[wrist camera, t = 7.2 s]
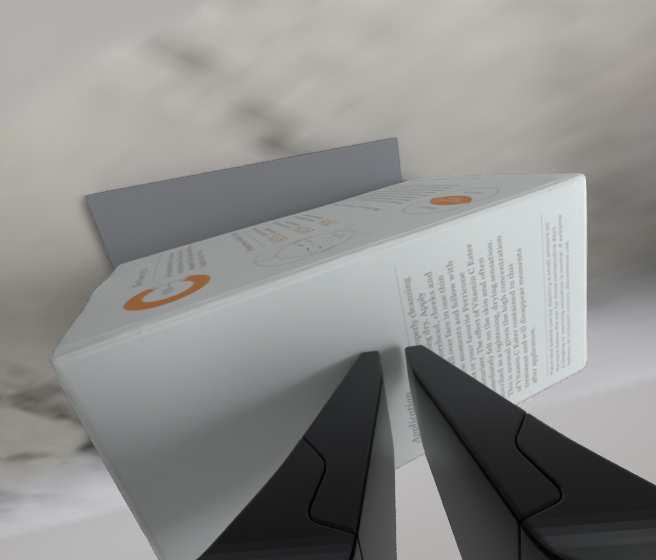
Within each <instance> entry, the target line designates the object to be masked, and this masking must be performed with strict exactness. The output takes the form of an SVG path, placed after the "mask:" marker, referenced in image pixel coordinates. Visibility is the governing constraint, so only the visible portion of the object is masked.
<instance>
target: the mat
mask: <svg viewBox="0 0 656 560" xmlns="http://www.w3.org/2000/svg"><path fill="white" fill-rule="evenodd" d="M401 182H402V180H401V170H400V161H399V152H398V142H397V138H391V139H386V140H380V141H375V142H370V143H364V144H359V145H353V146H348V147H343V148H337V149H332V150H327V151H321V152H316V153H310V154H305V155H300V156H294V157H289V158H284V159H278V160H273V161H267V162H262V163H257V164H251V165H246V166H241V167H235V168H230V169H224V170H219V171H214V172H208V173H203V174H197V175H192V176H187V177H181V178H176V179H171V180H165V181H160V182H154V183H149V184H144V185H138V186H133V187H128V188H122V189H117V190H111V191H106V192H101V193H95V194H91V195H86V196H85V198H86V200H87V203H88V205H89V208H90V210H91V213H92V215H93V218H94V221H95V223H96V226H97V228H98V231H99V233H100V236H101V238H102V241H103V244H104V246H105V249H106V251H107V254H108V256H109V259H110V261H111V264H112V266H113V269H114V271H115V269H116V268H117V267H118V265H120V264H123V263H126V262H130V261H133V260H136V259H140V258H143V257H147V256H150V255H154V254H157V253H160V252H164V251H167V250H171V249H174V248H178V247H181V246H185V245H188V244H192V243H195V242H199V241H202V240H206V239H209V238H212V237H216V236H219V235H222V234H226V233H229V232H233V231H236V230H240V229H243V228H247V227H250V226H254V225H257V224H261V223H264V222H268V221H272V220H275V219H279V218H283V217H286V216H290V215H293V214H297V213H301V212H304V211H308V210H311V209H315V208H318V207H322V206H325V205H329V204H332V203H335V202H339V201H342V200H345V199H349V198H352V197H355V196H358V195H362V194H365V193H368V192H371V191H375V190H378V189H381V188H385V187H388V186H391V185H395V184H398V183H401Z"/></svg>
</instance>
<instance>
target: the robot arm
mask: <svg viewBox="0 0 656 560" xmlns="http://www.w3.org/2000/svg"><path fill="white" fill-rule="evenodd" d="M405 358H406V365H407V373H408V380H409V386H410V391H411V395H412V400H413V405H414V410H415V414H416V419H417V424H418V428H419V433H420V437H421V441H422V445H423V448H424V451H425V455H426V457H427V460H428V463H429V466H430V469H431V472H432V475H433V477H434V480H435V483H436V486H437V489H438V492H439V494H440V497H441V500H442V503H443V506H444V509H445V511H446V514H447V517H448V520H449V523H450V526H451V529H452V532H453V534H454V537H455V540H456V543H457V546H458V548H459V551H460V554H461V557H462V559H463V560H656V485H654V484H652V483H650V482H648V481H646V480H645V479H643V478H641V477H639V476H637V475H635V474H633V473H631V472H630V471H628V470H626V469H624V468H622V467H620V466H618V465H617V464H615V463H613V462H611V461H609V460H607V459H605V458H603V457H602V456H600V455H598V454H596V453H594V452H593V451H591V450H589V449H587V448H585V447H584V446H582V445H580V444H578V443H576V442H575V441H573V440H571V439H569V438H568V437H566V436H564V435H563V434H561V433H559V432H558V431H556V430H555V429H553V428H551V427H550V426H548V425H546V424H545V423H543V422H542V421H540V420H538V419H537V418H535V417H534V416H532V415H531V414H527V413H526V411H524V410H523V409H521V408H520V407H518V406H517V405H515V404H513V403H512V402H510V401H509V400H507V399H506V398H504V397H503V396H501V395H500V394H498V393H496V392H495V391H493V390H492V389H490V388H489V387H487V386H486V385H484V384H482V383H481V382H479V381H478V380H476V379H475V378H473V377H472V376H470V375H469V374H467V373H465V372H464V371H462V370H461V369H459V368H458V367H456V366H455V365H453V364H451V363H450V362H448V361H447V360H445V359H444V358H442V357H441V356H439V355H438V354H436V353H434V352H433V351H431V350H430V349H428V348H427V347H425V346H423V345H415V346H408V347H406V348H405ZM196 560H397V553H396V510H395V463H394V445H393V437H392V431H391V424H390V418H389V411H388V405H387V398H386V392H385V385H384V379H383V372H382V366H381V359H380V353H379V352H378V351H370V352H363V353H361V354H360V356H359V357H358V359H357V360H356V361H355V363H354V364H353V366H352V367H351V368H350V370H349V371H348V373H347V374H346V375H345V377H344V378H343V380H342V381H341V382H340V384H339V385H338V387H337V388H336V390H335V391H334V392H333V394H332V395H331V397H330V398H329V399H328V401H327V402H326V404H325V405H324V406H323V408H322V409H321V411H320V412H319V413H318V415H317V416H316V418H315V419H314V420H313V422H312V423H311V425H310V426H309V428H308V429H307V430H306V432H305V433H304V435H303V436H302V439H300V440H299V441H298V443H297V444H296V446H295V447H294V448H293V450H292V451H291V452H290V454H289V455H288V456H287V458H286V459H285V460H284V462H283V463H282V464H281V466H280V467H279V468H278V470H277V471H276V472H275V473H274V474H273V475H272V477H271V478H270V479H269V480H268V481H267V482H266V484H265V485H264V486H263V487H262V488H261V489H260V491H259V492H258V493H257V494H256V495H255V496H254V497H253V498H252V500H251V501H250V502H249V503H248V504H247V505H246V506H245V507H244V508H243V510H242V511H241V512H240V513H239V514H238V515H237V516H236V517H235V519H234V520H233V521H232V522H231V523H230V524H229V525H228V526H227V527H226V529H225V530H224V531H223V532H222V533H221V534H220V535H219V536H218V537H217V539H216V540H215V541H214V542H213V543H212V544H211V545H210V546H209V547H208V548H207V549H206V550H205V551H204V552H203V554H202V555H201V556H199V557H198V558H197V559H196Z"/></svg>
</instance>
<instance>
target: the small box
mask: <svg viewBox="0 0 656 560" xmlns="http://www.w3.org/2000/svg"><path fill="white" fill-rule="evenodd" d="M415 345H423V346H425V347H427V348H428V349H430V350H431V351H433V352H434V353H436V354H438V355H439V356H441V357H442V358H444V359H445V360H447V361H448V362H450V363H451V364H453V365H455V366H456V367H458V368H459V369H461V370H462V371H464V372H465V373H467V374H469V375H470V376H472V377H473V378H475V379H476V380H478V381H479V382H481V383H482V384H484V385H486V386H487V387H489V388H490V389H492V390H493V391H495V392H496V393H498V394H500V395H501V396H503V397H504V398H506V399H507V400H509V401H510V402H512V403H513V404H515V405H517V404H519V403H521V402H523V401H525V400H527V399H529V398H531V397H533V396H534V395H536V394H538V393H540V392H542V391H544V390H546V389H548V388H549V387H551V386H553V385H555V384H557V383H559V382H561V381H563V380H565V379H566V378H568V377H570V376H572V375H574V374H576V373H577V372H579V371H581V370H582V369H584V367H585V364H586V363H587V362H588V361H587V210H586V178H585V176H584V174H580V173H563V174H503V175H468V176H436V177H418V178H414V179H411V180H408V181H405V182H401V183H398V184H395V185H391V186H388V187H385V188H381V189H378V190H375V191H371V192H368V193H365V194H362V195H358V196H355V197H352V198H349V199H345V200H342V201H339V202H335V203H332V204H329V205H325V206H322V207H318V208H315V209H311V210H308V211H304V212H301V213H297V214H293V215H290V216H286V217H283V218H279V219H275V220H272V221H268V222H264V223H261V224H257V225H254V226H250V227H247V228H243V229H240V230H236V231H233V232H229V233H226V234H222V235H219V236H216V237H212V238H209V239H206V240H202V241H199V242H195V243H192V244H188V245H185V246H181V247H178V248H174V249H171V250H167V251H164V252H160V253H157V254H154V255H150V256H147V257H143V258H140V259H136V260H133V261H130V262H126V263H123V264H120V265H118V267H117V268H116V269H115V271H114V272H113V273H112V274H111V275H110V276H109V277H108V279H107V280H106V281H104V282H103V283H102V284H101V285H100V286H98V287H97V288H96V289H95V291H94V292H93V293H92V295H91V297H90V299H89V301H88V303H87V304H86V306H85V308H84V309H83V311H82V312H81V313H80V315H79V316H78V317H77V318H76V320H75V321H74V322H73V324H72V325H71V327H70V328H69V330H68V331H67V332H66V334H65V335H64V336H63V338H62V339H61V341H60V343H59V344H58V346H57V347H56V348H55V349H54V351H53V353H52V355H51V357H50V359H49V362H50V369H51V370H52V372H53V374H54V375H55V377H56V379H57V380H58V382H59V384H60V385H61V387H62V389H63V390H64V392H65V394H66V396H67V398H68V399H69V401H70V403H71V405H72V407H73V408H74V410H75V412H76V414H77V416H78V417H79V419H80V421H81V423H82V425H83V426H84V428H85V430H86V432H87V434H88V435H89V437H90V439H91V441H92V443H93V444H94V446H95V448H96V450H97V452H98V453H99V455H100V457H101V459H102V461H103V462H104V464H105V466H106V468H107V470H108V471H109V473H110V475H111V477H112V478H113V480H114V482H115V484H116V486H117V487H118V489H119V491H120V493H121V494H122V496H123V498H124V500H125V502H126V503H127V505H128V507H129V508H130V510H131V512H132V514H133V515H134V517H135V519H136V521H137V522H138V524H139V526H140V527H141V529H142V531H143V533H144V534H145V536H146V537H147V539H148V541H149V543H150V545H151V547H152V549H153V551H154V553H155V555H156V556H157V558H158V560H196V559H197V558H198V557H199V556H201V555H202V554H203V552H204V551H205V550H206V549H207V548H208V547H209V546H210V545H211V544H212V543H213V542H214V541H215V540H216V539H217V537H218V536H219V535H220V534H221V533H222V532H223V531H224V530H225V529H226V527H227V526H228V525H229V524H230V523H231V522H232V521H233V520H234V519H235V517H236V516H237V515H238V514H239V513H240V512H241V511H242V510H243V508H244V507H245V506H246V505H247V504H248V503H249V502H250V501H251V500H252V498H253V497H254V496H255V495H256V494H257V493H258V492H259V491H260V489H261V488H262V487H263V486H264V485H265V484H266V482H267V481H268V480H269V479H270V478H271V477H272V475H273V474H274V473H275V472H276V471H277V470H278V468H279V467H280V466H281V464H282V463H283V462H284V460H285V459H286V458H287V456H288V455H289V454H290V452H291V451H292V450H293V448H294V447H295V446H296V444H297V443H298V441H299V440H300V439H302V436H303V435H304V433H305V432H306V430H307V429H308V428H309V426H310V425H311V423H312V422H313V420H314V419H315V418H316V416H317V415H318V413H319V412H320V411H321V409H322V408H323V406H324V405H325V404H326V402H327V401H328V399H329V398H330V397H331V395H332V394H333V392H334V391H335V390H336V388H337V387H338V385H339V384H340V382H341V381H342V380H343V378H344V377H345V375H346V374H347V373H348V371H349V370H350V368H351V367H352V366H353V364H354V363H355V361H356V360H357V359H358V357H359V356H360V354H361V353H363V352H370V351H378V352H379V353H380V359H381V366H382V372H383V379H384V385H385V392H386V398H387V405H388V411H389V418H390V424H391V431H392V437H393V445H394V463H395V469H397V468H399V467H401V466H403V465H405V464H406V463H408V462H410V461H412V460H414V459H416V458H418V457H420V456H422V455H424V454H425V451H424V448H423V445H422V441H421V437H420V433H419V428H418V424H417V419H416V414H415V410H414V405H413V400H412V395H411V391H410V386H409V380H408V373H407V365H406V358H405V348H406V347H408V346H415Z"/></svg>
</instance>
